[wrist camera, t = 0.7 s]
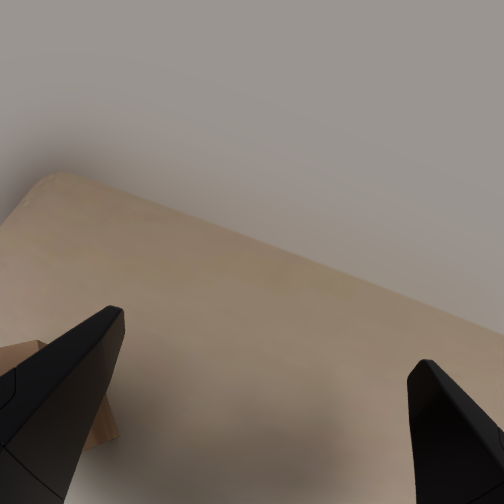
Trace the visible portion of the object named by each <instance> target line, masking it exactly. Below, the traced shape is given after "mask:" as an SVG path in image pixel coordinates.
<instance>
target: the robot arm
mask: <svg viewBox="0 0 504 504" xmlns="http://www.w3.org/2000/svg"><path fill="white" fill-rule="evenodd" d="M124 335H125V321H124V311H123V309H122V308H119V307H115V306H112V305H109V306H107V307H105V308H104V309H102V310H101V311H99V312H97V313H96V314H94V315H93V316H91V317H90V318H88V319H86V320H85V321H83V322H82V323H80V324H79V325H77V326H76V327H74V328H72V329H71V330H69V331H68V332H66V333H65V334H63V335H62V336H60V337H59V338H57V339H56V340H54V341H52V342H51V343H49V344H48V345H46V346H45V347H43V348H42V349H40V350H39V351H37V352H36V353H34V354H33V355H31V356H30V357H28V358H27V359H25V360H24V361H22V362H21V363H19V364H18V365H17V366H16V367H13V368H12V369H10V370H9V371H7V372H6V373H4V374H3V375H1V376H0V504H64V500H65V498H66V495H67V492H68V489H69V486H70V483H71V480H72V477H73V474H74V472H75V469H76V466H77V463H78V461H79V458H80V455H81V453H82V450H83V447H84V445H85V442H86V440H87V437H88V434H89V432H90V429H91V427H92V424H93V422H94V419H95V417H96V415H97V412H98V410H99V407H100V405H101V402H102V400H103V398H104V395H105V393H106V391H107V388H108V386H109V383H110V380H111V377H112V374H113V371H114V367H115V364H116V361H117V358H118V354H119V351H120V348H121V345H122V342H123V339H124ZM407 391H408V409H409V425H410V433H411V442H412V451H413V461H414V472H415V486H416V504H504V432H503V431H502V430H501V429H500V428H499V427H498V426H497V424H496V423H495V422H494V421H493V420H492V419H491V418H490V417H489V416H488V415H487V414H486V413H485V412H484V411H483V410H482V409H481V408H480V407H479V406H478V405H477V404H476V403H475V402H474V401H473V400H472V399H471V398H470V397H469V396H468V395H467V394H466V393H465V392H464V391H463V390H462V389H461V388H460V387H459V386H458V385H457V384H456V383H455V382H454V381H453V380H452V379H451V378H450V377H449V376H448V375H447V374H446V373H445V372H444V371H443V370H442V369H441V368H440V367H439V366H438V365H437V364H436V363H435V362H434V361H433V360H427V359H422V360H420V361H419V362H418V364H417V365H416V366H415V368H414V369H413V370H412V372H411V373H410V374H409V376H408V378H407Z"/></svg>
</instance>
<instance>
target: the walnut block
mask: <svg viewBox="0 0 504 504" xmlns="http://www.w3.org/2000/svg"><path fill="white" fill-rule="evenodd" d="M46 345H47V344H45V343H43V342H41V341H39V340H34V341H30V342H25V343H20V344H16V345H11V346H6V347H2V348H0V376H1V375H3V374H4V373H6V372H7V371H9V370H10V369H12V368H13V367H16V366H17V365H18V364H19V363H21V362H22V361H24V360H25V359H27V358H28V357H30V356H31V355H33V354H34V353H36V352H37V351H39V350H40V349H42V348H43V347H45V346H46ZM118 436H119V434H118V431H117V428H116V425H115V422H114V419H113V416H112V413H111V409H110V406H109V403H108V399H107V396H106V393H105V395H104V398H103V400H102V402H101V405H100V407H99V410H98V412H97V415H96V417H95V419H94V422H93V424H92V427H91V429H90V432H89V434H88V437H87V440H86V442H85V445H84V447H83V450H82V451H84V450H87V449H89V448H92V447H94V446H97V445H99V444H102V443H104V442H107V441H109V440H111V439H114V438H116V437H118Z"/></svg>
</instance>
